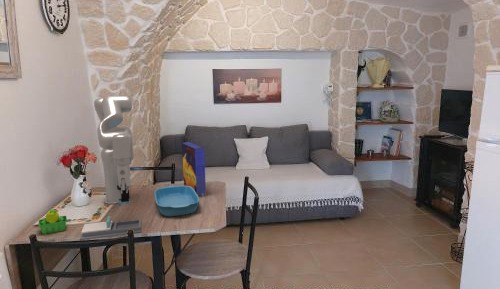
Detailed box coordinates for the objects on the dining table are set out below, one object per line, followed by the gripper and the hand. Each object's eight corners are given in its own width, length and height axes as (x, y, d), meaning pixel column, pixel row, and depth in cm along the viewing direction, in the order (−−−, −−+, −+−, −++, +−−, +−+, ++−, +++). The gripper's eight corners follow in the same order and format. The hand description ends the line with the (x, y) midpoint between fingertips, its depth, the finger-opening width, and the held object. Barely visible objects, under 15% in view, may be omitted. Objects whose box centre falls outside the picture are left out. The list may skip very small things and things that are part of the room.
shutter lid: (84, 225, 163) (84, 217, 162) (112, 222, 166) (111, 214, 165) (81, 233, 154) (80, 225, 153) (110, 230, 157) (109, 222, 157)
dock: (85, 228, 165) (84, 224, 164) (141, 221, 172) (141, 217, 171) (79, 240, 153) (79, 235, 152) (141, 232, 159) (140, 228, 159)
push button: (132, 201, 165) (131, 181, 164) (133, 204, 161) (132, 183, 159) (117, 203, 163) (116, 182, 161) (118, 207, 158) (116, 185, 156)
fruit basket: (67, 225, 169) (65, 202, 167) (67, 231, 161) (65, 208, 159) (40, 229, 164) (37, 207, 162) (39, 237, 156) (36, 213, 154)
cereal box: (184, 188, 224) (181, 142, 219) (192, 187, 227) (190, 141, 222) (196, 198, 206) (194, 148, 200) (206, 196, 209) (204, 147, 203)
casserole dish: (203, 216, 179) (202, 202, 178) (158, 222, 172) (157, 208, 170) (191, 194, 213) (190, 183, 212) (153, 198, 206) (152, 187, 205)
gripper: (130, 164, 151) (133, 205, 155) (132, 157, 167) (134, 193, 170) (111, 165, 149) (115, 206, 153) (115, 158, 165) (118, 195, 168)
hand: (125, 199), depth 161 cm, fingers closed on push button, 3 cm apart
